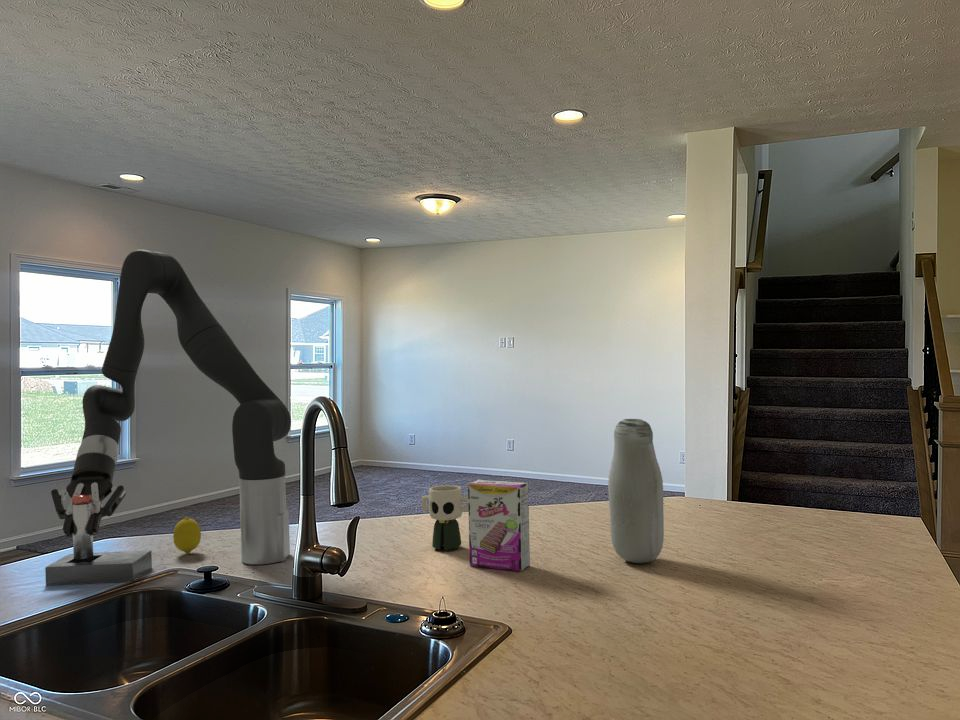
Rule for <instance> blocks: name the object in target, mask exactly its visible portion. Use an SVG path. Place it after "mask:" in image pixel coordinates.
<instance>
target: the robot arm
mask: <svg viewBox="0 0 960 720" xmlns="http://www.w3.org/2000/svg"><path fill="white" fill-rule="evenodd" d="M148 294H155V295H156V294H157V295H158V296H160V297H161V298H162V300H163V301H164V302H165V303H166V304H167V305H168V308H169V309H170V310H171V311H172V313H173V314H174V316H175V320H176V325H177V326H176V327H177V328H176V329H177V336H178V340H179V343H180V346H181V348H182V349H183V351H184V352H185V354H186V355H187V357H189V359H190V360H191V362H192V363H193V364H194V365H195V368H197V369H198V370H199V371H200V372H201V373H203V374H204V375H205V376H206V377H207V378H208V379H209V380H211V381H212V382H214V383H216V384H217V385H219V386H221V387H222V388H223V389H224V390H225V391H227V392H228V393H229V394H230V395H232V397H234V398H235V400H237V402H238V404H239V406H237V408H236V410H235V411H234V413H233V417H232V424H231V426H232V427H231V429H232V431H231V433H232V445H233V457H234V463H235V465H236V467H237V468H236V469H237V470H238V478H239V481H238V482H239V485H238V487H239V515H240V517H239V518H240V546H241V547H240V549H241V550H240V553H241V555H240V556H241V562H242V563H244V564H247V565H268V564H274V563H278V562H285V561H286V560H287V558H288V557H289V556H290V554H291V552H290V551H291V545H290V544H291V543H290V513H289V509H288V508H287V493H286V487H287V486H286V464H285V462H284V461H283V460H281V459H280V458H278V456H276V453H275V448H274V442H277V441H280V440H283V438H285V437H286V436H287V435H288V434H289V432H290V431H291V428H292V427H291V426H292V419H291V415H290V412H289V409H288V408H287V406H286V405H285V404H284V402H283V401H282V400H281V399H280V397H278V396H277V394H275V392H274V391H273V390H272V389H271V388H270V387H269V386H268V385H267V384H266V383H265V382H264V380H263V379H261V377H260V376H259V375H258V373H257V372H256V371H255V369H254V368H253V367H252V365H251V364H250V362H248V360H247V359H246V358H245V356H244V355H243V353H242V352H241V351H240V349H239V348H238V346H237V345H236V344H235V343H234V341H233V339H232V338H231V337H230V335H229V334H228V332H226V331H227V330H225V328H223V326H222V324H220V323H219V321H218V320H217V319H216V317H215V316H214V315H213V313H212V312H211V310H210V309H209V308H208V306H207V305H206V303H205V302H204V301H203V300H202V298H201V297H200V296H199V293H198V292H197V291H196V288H194V285H193V283H192V282H191V280H190V279H189V277H188V275H187V273H186V271H185V270H184V268H183V267H182V265H181V264H180V262H179V261H178V260H177V259H176V258H175V257H174V256H173V255H170V254H168V253H166V252H161V251H155V250H154V251H153V250H150V249H149V250H148V249H135V250H133V251H131V252H130V253H129V254H127V255H126V257H125V259H124V261H123V264H122V266H121V272H120V276H119V285H118V291H117V297H116V298H117V300H116V305H115V306H116V307H115V308H116V309H115V317H114V322H113V323H114V324H113V328H112V329H113V330H112V334H111V336H110V337H111V339H110V340H109V341H110V342H109V344H108V348H107V351H106V354H105V357H104V360H103V364H102V367H101V374H102V375H103V376H104V377H105V378H106V379H109V380H111V381H113V382H115V383H116V384H118V385H120V387H121V389H120V388H116V387H115V388H114V387H111V386H110V387H109V386H106V385H101V384H94V385H91V386H89V388H87V389H86V390H85V392H84V394H83V396H82V402H81V403H82V404H81V405H82V412H83V417H84V429H83V430H84V431H83V435H82V438H81V443H80V446H79V448H78V449H77V452H76V453H77V454H76V458H75V460H74V465H73V468H72V469H73V470H72V473H71V478H70V482H69V483H68V484H67V485H66V487H65V488H63V489H61V490H58V489H56V488H54V489H52V490H50V491H51V492H50V493H51V497H52V500H53V501H52V502H53V504H54V508H55V512H56V514H57V516H58V518H59V519H60V520H64V522H63V526H62V530H63V532H64V535H65V536H66V537H67V538H73V513H72V496H74V495H80V494H92V514H91V518H90V523H89V528H88V532H89V534H90V536H92V535H93V536H95V534H96V533H98V532H99V530H100V526H101V520H102V519H103V518H104V517H106V516H107V517H112V516H113V514H114V512H115V511H116V510H117V509H118V507H119V505H120V504H121V503H122V501H123V499H124V498H125V497H126V495H127V494H126V491H125V486H123V485H118V486H115V485H113V479H114V474H115V471H116V470H115V468H116V464H117V462H118V452H119V451H118V449H119V443H120V439H121V438H120V437H121V432H122V428H121V425H120V423H119V422H125V421H126V420H129V419H130V418H131V417H132V415H133V414H134V412H135V407H136V405H135V404H136V398H135V397H136V396H135V395H136V393H135V392H136V391H135V387H136V379H137V374H138V371H139V368H140V365H141V362H142V361H141V360H142V359H143V354H144V352H145V351H144V350H145V334H144V329H143V324H142V309H143V306H144V302H145V300H146V298H147V295H148ZM110 494H111V495H110ZM109 495H110V497H109ZM67 496H69V497H70V500H69V504H68V506H67V509H65V508H64V504H63V502H65V500H66V497H67ZM107 497H109V498H108V500H107V501H106V502H105V504H104V506H103V501H104V500H105V499H106V498H107Z"/></svg>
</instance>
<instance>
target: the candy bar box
mask: <svg viewBox="0 0 960 720" xmlns="http://www.w3.org/2000/svg"><path fill="white" fill-rule="evenodd" d="M467 494H468V495H467V497H468V507H469V512H468V535H469V537H468V540H469V543H468V545H469V550H468V551H469V566H470V567H476V568H487V569H495V570H504V571H511V572H524V571H525V569H526V568H528V567H529V566H530V565H531V555H530V554H531V553H530V551H531V550H530V511H529V509H530V508H529V505H530V504H529V503H530V502H529V496H530V495H529V494H530V493H529V483H528V482H522V481H520V482H519V481H505V480H504V481H501V480H490V479H475V480H474V481H473V480H472V481H471V482H469V483H467Z"/></svg>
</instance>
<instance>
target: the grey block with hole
mask: <svg viewBox="0 0 960 720" xmlns="http://www.w3.org/2000/svg"><path fill="white" fill-rule="evenodd" d="M152 553H153V552H152V549H151V550H149V549H148V550H146V549H145V550H125V551H104V552H93V556H92V557H90V558H86V559H74V554H73V553H69V554H67V555H65V556H63V557H62V558H60V559H58V560H55V561H54V562H52V563H50V564H48V565H47V566H45V567H44V569H45V570H44V571H45V586H46V585H47V586H48V585H49V586H64V585H65V586H69V585H68V584H70V585H86V584H87V585H89V584H92V585H93V584H108V583H129V582H128V581H133V582H135V581H136V580H137V579H139V578H140V577H141V576H143V575H144V574H145V573H146V571H147V570H148V571H149V570H151V569H152V568H153V560H152V559H153V558H152V557H153V556H152ZM151 567H152V568H151ZM150 568H151V569H150ZM148 571H147V572H148ZM143 573H144V574H143ZM142 574H143V575H142ZM140 575H141V576H140ZM139 576H140V577H139ZM138 577H139V578H138ZM136 578H137V579H136ZM135 579H136V580H135ZM134 580H135V581H134Z"/></svg>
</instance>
